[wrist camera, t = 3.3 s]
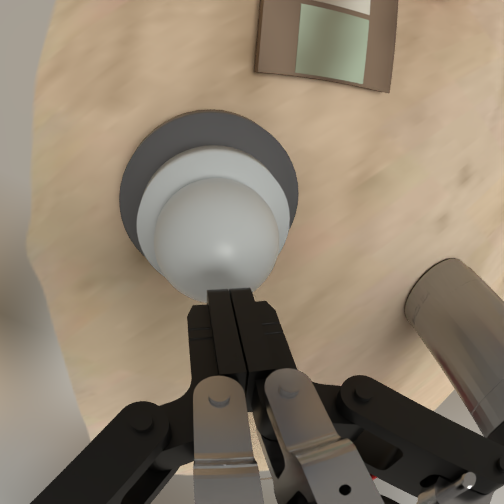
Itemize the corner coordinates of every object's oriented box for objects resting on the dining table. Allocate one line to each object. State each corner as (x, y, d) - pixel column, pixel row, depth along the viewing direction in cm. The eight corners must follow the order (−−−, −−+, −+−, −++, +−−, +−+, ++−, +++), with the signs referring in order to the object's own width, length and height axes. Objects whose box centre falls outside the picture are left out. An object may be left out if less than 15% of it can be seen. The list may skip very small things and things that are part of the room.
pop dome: (288, 146, 16) (334, 185, 11) (273, 269, 21) (300, 336, 16) (136, 146, 15) (110, 187, 10) (147, 274, 19) (140, 347, 14)
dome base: (297, 113, 19) (309, 118, 17) (279, 259, 24) (286, 274, 23) (120, 113, 16) (113, 117, 15) (134, 265, 22) (130, 281, 21)
